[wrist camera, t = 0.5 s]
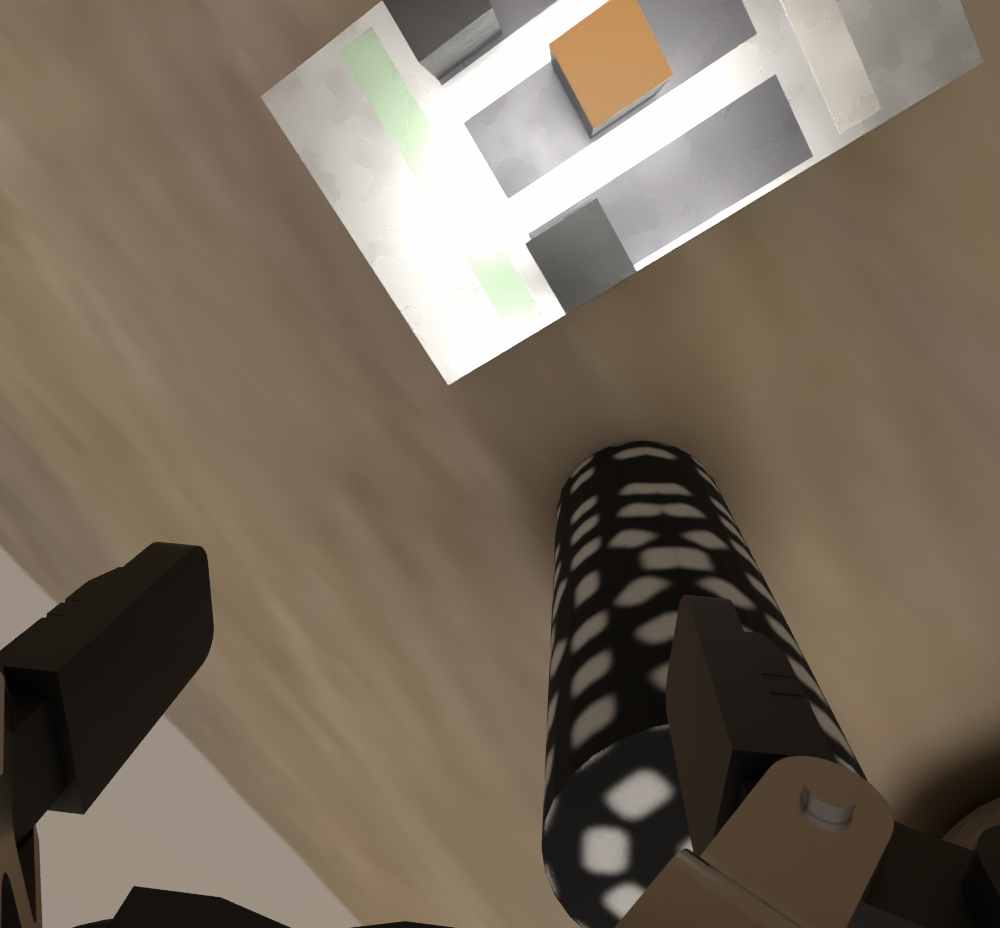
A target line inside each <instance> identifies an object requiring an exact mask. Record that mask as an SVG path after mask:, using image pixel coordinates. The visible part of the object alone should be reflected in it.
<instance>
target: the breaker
mask: <svg viewBox="0 0 1000 928" xmlns="http://www.w3.org/2000/svg"><path fill="white" fill-rule="evenodd" d="M549 49H550V56H551V64H552V67H553V68H554V70H555V72H556V74H557V76H558V78H559V80H560V81H561V83H562V85H563V87H564V89H565V91H566V93H567V94H568V96H569V98H570V100H571V102H572V104H573V106H574V108H575V109H576V111H577V113H578V115H579V117H580V119H581V121H582V122H583V124H584V126H585V128H586V130H587V132H588V134H589V135H590V137H592V136H594V135H595V134H597V133H598V132H600V131H601V130H603V129H604V128H606V127H607V126H609V125H610V124H612V123H613V122H615V121H616V120H617V119H619V118H620V117H622V116H623V115H625V114H626V113H628V112H629V111H631V110H632V109H634V108H635V107H637V106H638V105H640V104H641V103H643V102H644V101H646V100H647V99H649V98H650V97H652V96H653V95H655V94H656V93H658V92H659V91H660V90H661V89H662V88H663V87H664V85H665V84H666V83H667V82H668V80H669V79H670V78H671V77H672V76H673V73H672V70H671V68H670V66H669V64H668V62H667V60H666V58H665V56H664V54H663V52H662V50H661V48H660V46H659V44H658V42H657V40H656V38H655V36H654V34H653V32H652V30H651V28H650V26H649V24H648V22H647V20H646V18H645V16H644V14H643V12H642V10H641V8H640V6H639V4H638V2H637V0H609V1H608V2H606V3H605V4H603V5H602V6H601V7H599V8H598V9H597V10H595V11H594V12H592V13H591V14H590V15H588V16H587V17H585V18H584V19H583V20H581V21H580V22H578V23H577V24H576V25H574V26H573V27H571V28H570V29H569V30H567V31H566V32H565V33H563V34H562V35H560V36H559V37H558V38H556V39H555V40H553V41H552V42H551V43H549Z"/></svg>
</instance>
